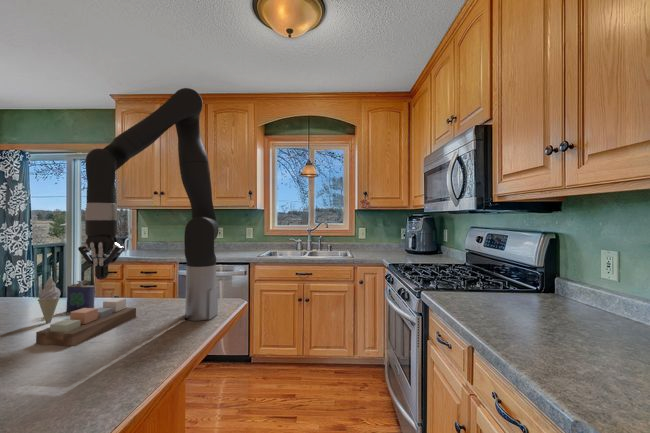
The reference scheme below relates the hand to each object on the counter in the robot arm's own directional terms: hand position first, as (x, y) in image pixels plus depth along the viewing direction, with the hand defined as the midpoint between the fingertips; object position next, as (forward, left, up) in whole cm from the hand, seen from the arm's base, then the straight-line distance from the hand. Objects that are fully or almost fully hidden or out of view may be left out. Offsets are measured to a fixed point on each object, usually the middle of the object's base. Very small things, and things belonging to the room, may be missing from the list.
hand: (101, 278), depth 90 cm
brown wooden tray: (0, +3, -15) cm, 15 cm away
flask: (+20, -15, -15) cm, 29 cm away
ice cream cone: (+17, -1, -15) cm, 23 cm away
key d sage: (0, +11, -12) cm, 16 cm away
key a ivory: (0, -6, -11) cm, 12 cm away
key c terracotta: (0, +5, -11) cm, 12 cm away
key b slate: (0, 0, -12) cm, 12 cm away
